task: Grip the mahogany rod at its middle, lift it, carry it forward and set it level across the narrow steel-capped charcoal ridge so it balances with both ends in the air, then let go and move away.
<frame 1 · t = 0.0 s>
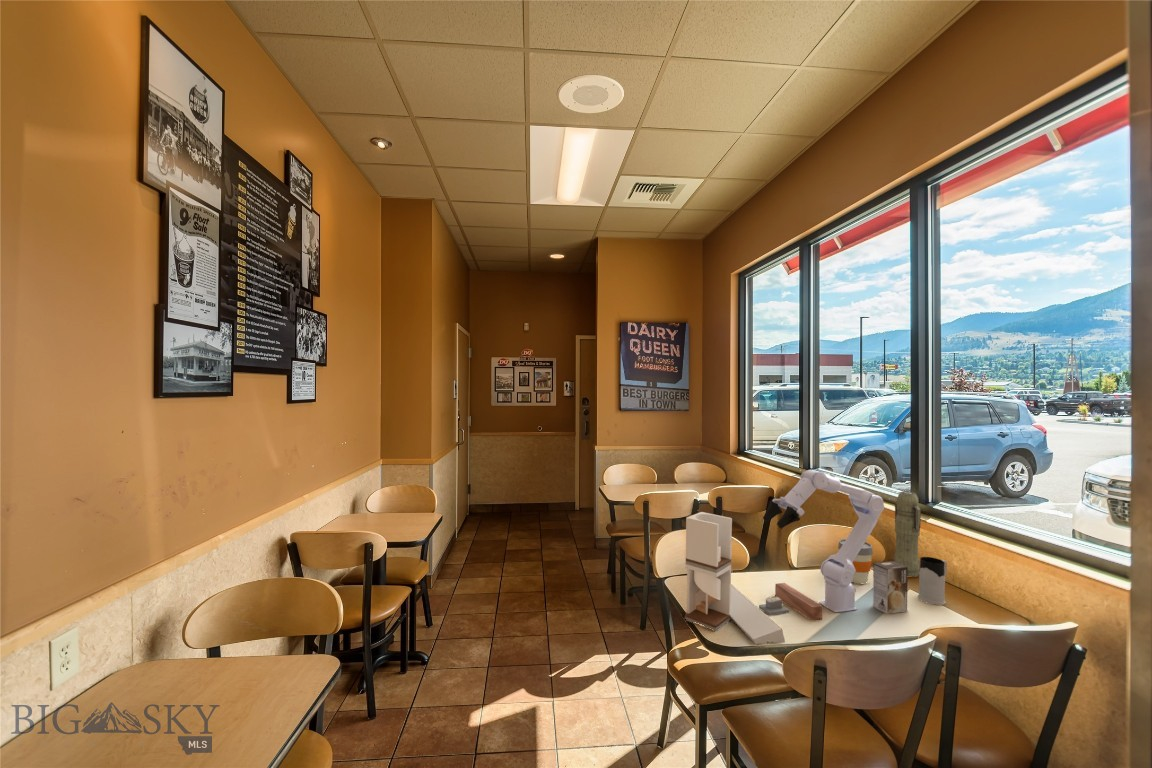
hand: (771, 523, 172), 32 cm above the table, tool tilted 50°, fingers open, 7 cm apart
reusable coffee cup: (854, 580, 205), on the table
mahogany rod: (797, 608, 179), on the table
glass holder: (935, 598, 188), on the table
white tower model: (707, 620, 168), on the table
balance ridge: (773, 610, 176), on the table
thermos: (906, 574, 212), on the table
decorative molding: (742, 619, 171), on the table
coffee box: (889, 609, 178), on the table
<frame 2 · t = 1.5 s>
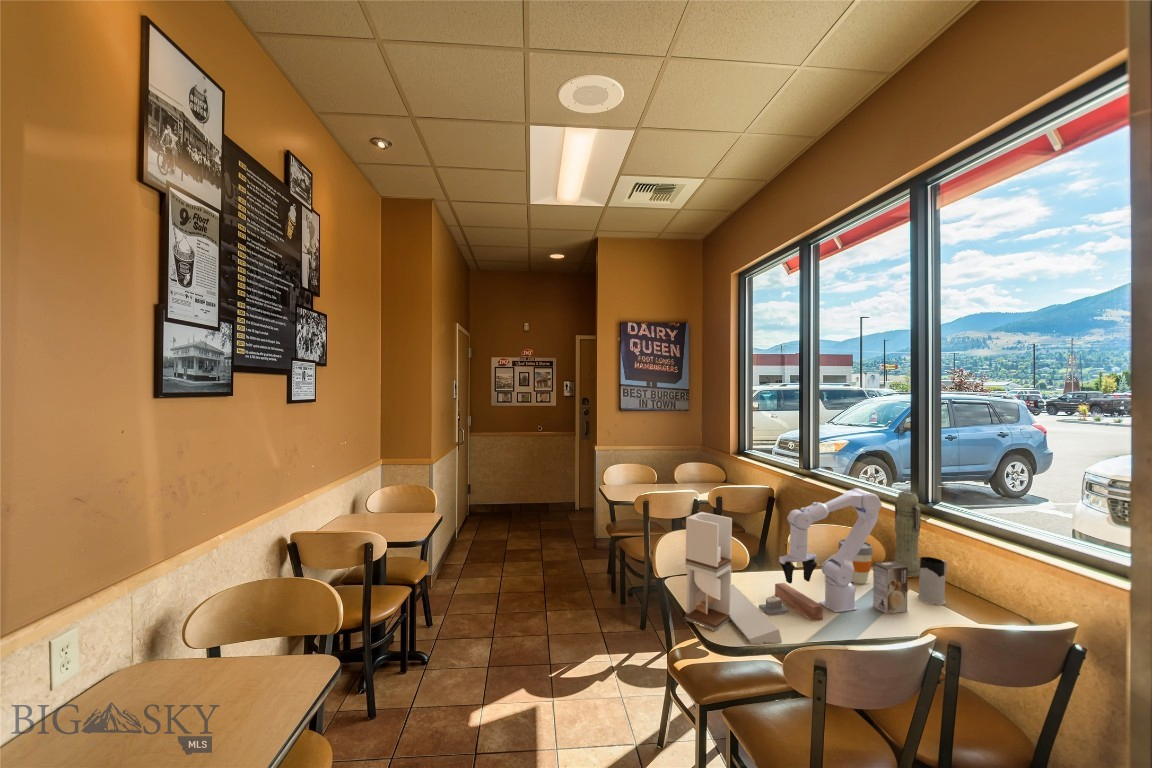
hand: (797, 581, 179), 9 cm above the table, tool pointing down, fingers open, 7 cm apart
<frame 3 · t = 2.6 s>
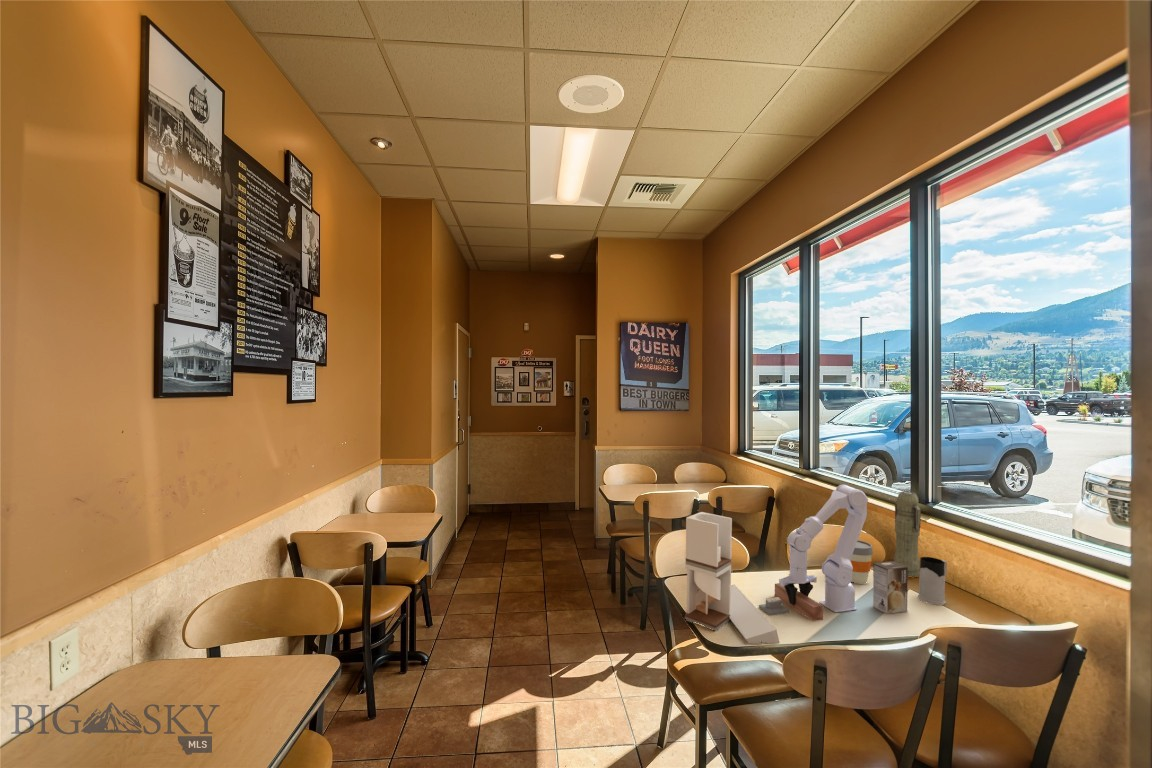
hand: (797, 603, 179), 1 cm above the table, tool pointing down, fingers closed on mahogany rod, 4 cm apart
mahogany rod: (797, 607, 179), on the table, touching gripper
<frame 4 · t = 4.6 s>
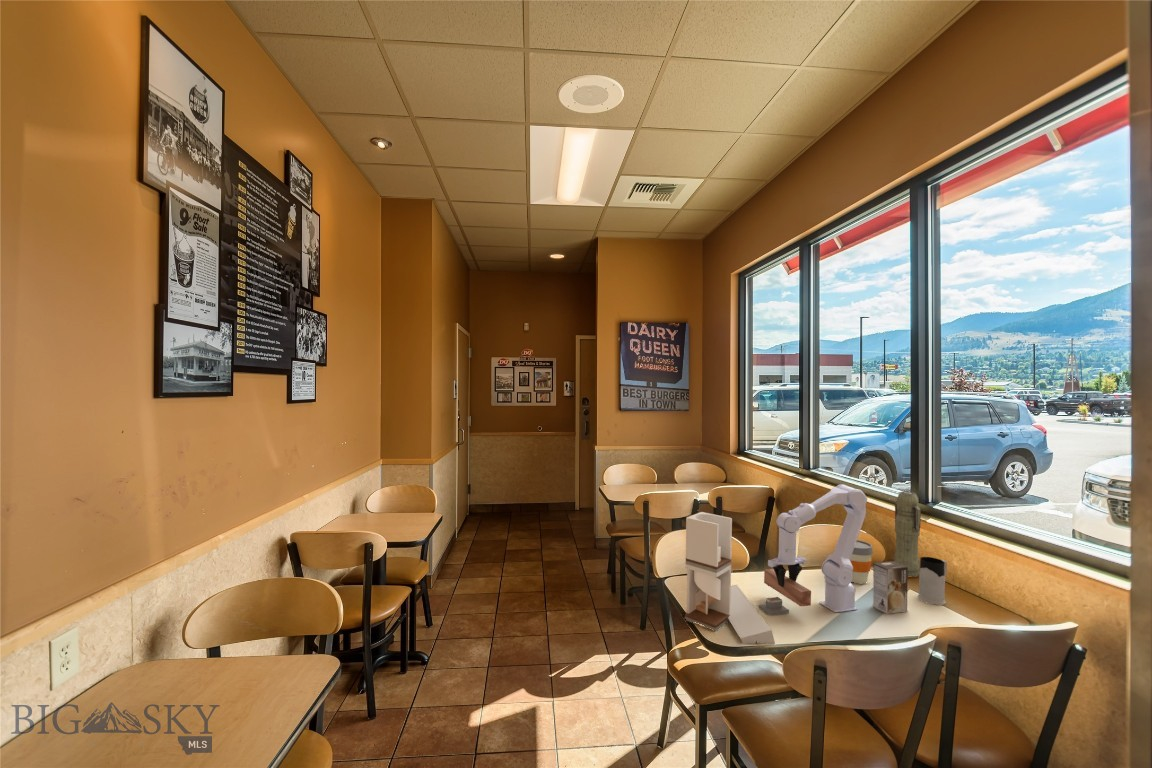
hand: (786, 585, 178), 9 cm above the table, tool pointing down, fingers closed on mahogany rod, 4 cm apart
mahogany rod: (786, 593, 178), point 5 cm above the table, touching gripper
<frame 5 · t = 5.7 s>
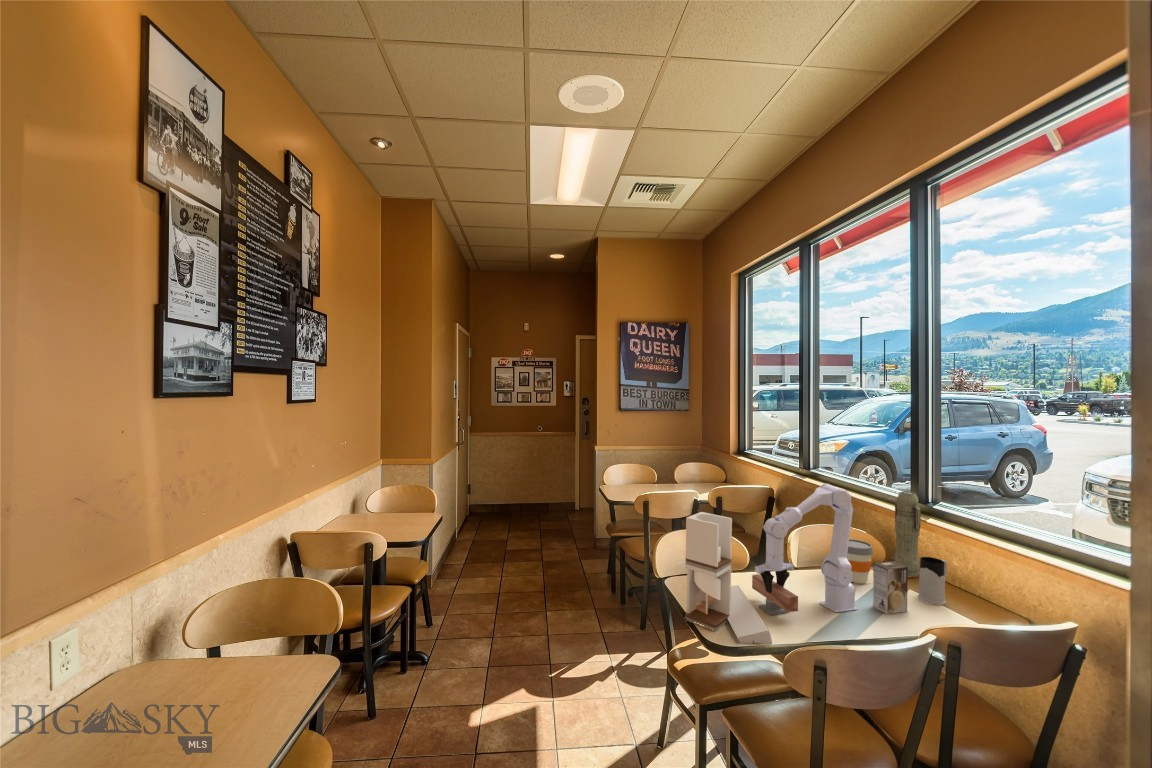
hand: (774, 591, 176), 7 cm above the table, tool pointing down, fingers closed on mahogany rod, 4 cm apart
mahogany rod: (773, 599, 176), point 4 cm above the table, touching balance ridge, gripper
when the fingers open (6 cm above the table, at t = 6.2 s): mahogany rod stays where it is, resting on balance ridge.
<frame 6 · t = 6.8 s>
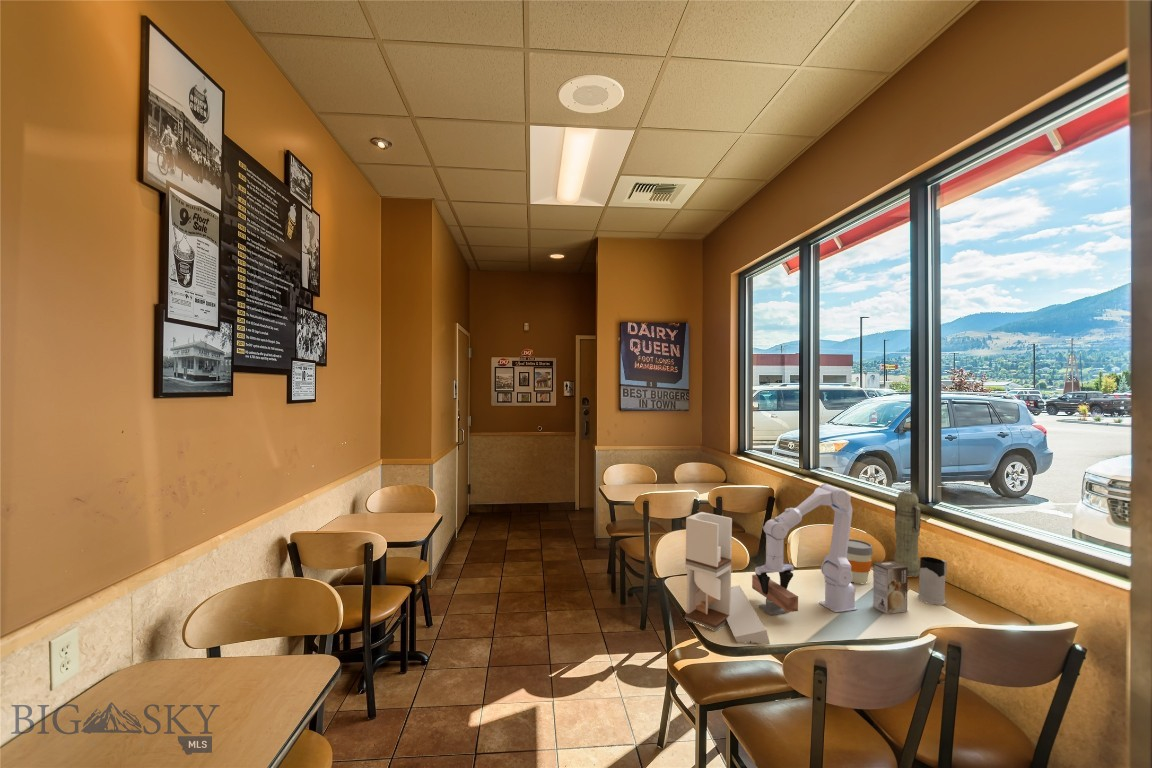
hand: (774, 592, 176), 6 cm above the table, tool pointing down, fingers open, 7 cm apart
mahogany rod: (773, 599, 176), point 4 cm above the table, touching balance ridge
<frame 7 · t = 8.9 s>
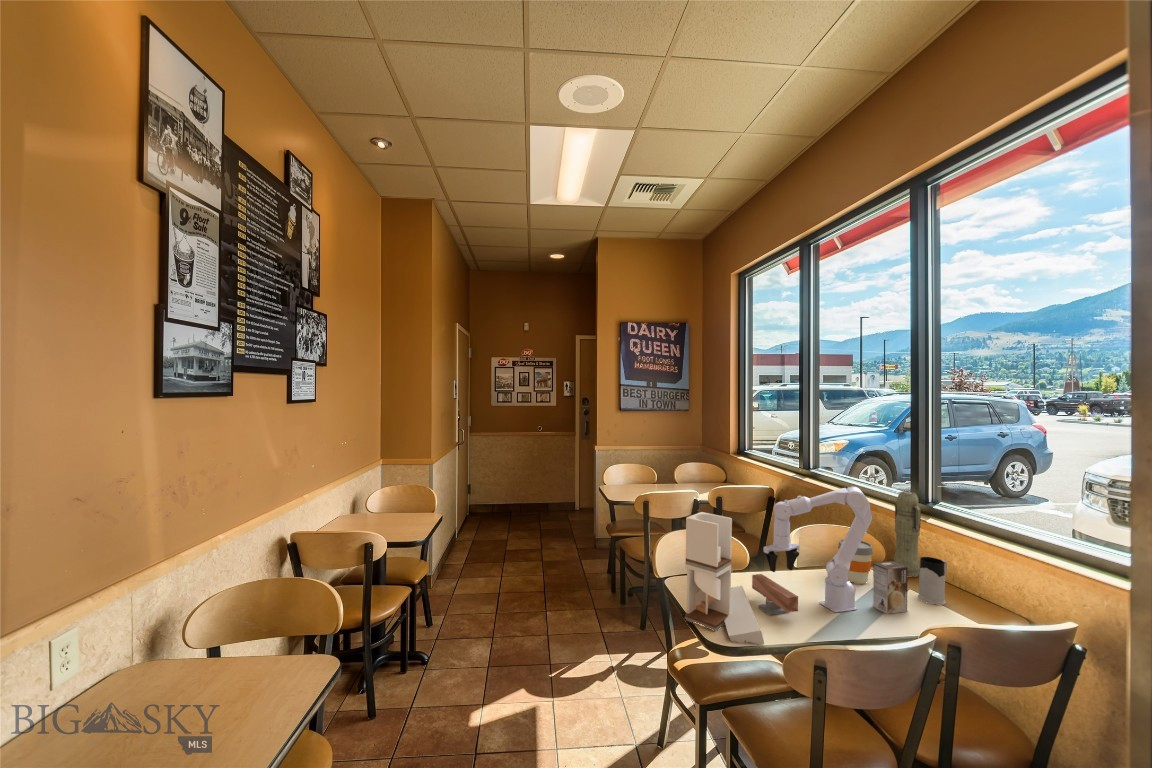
hand: (781, 570, 187), 10 cm above the table, tool pointing down, fingers open, 7 cm apart
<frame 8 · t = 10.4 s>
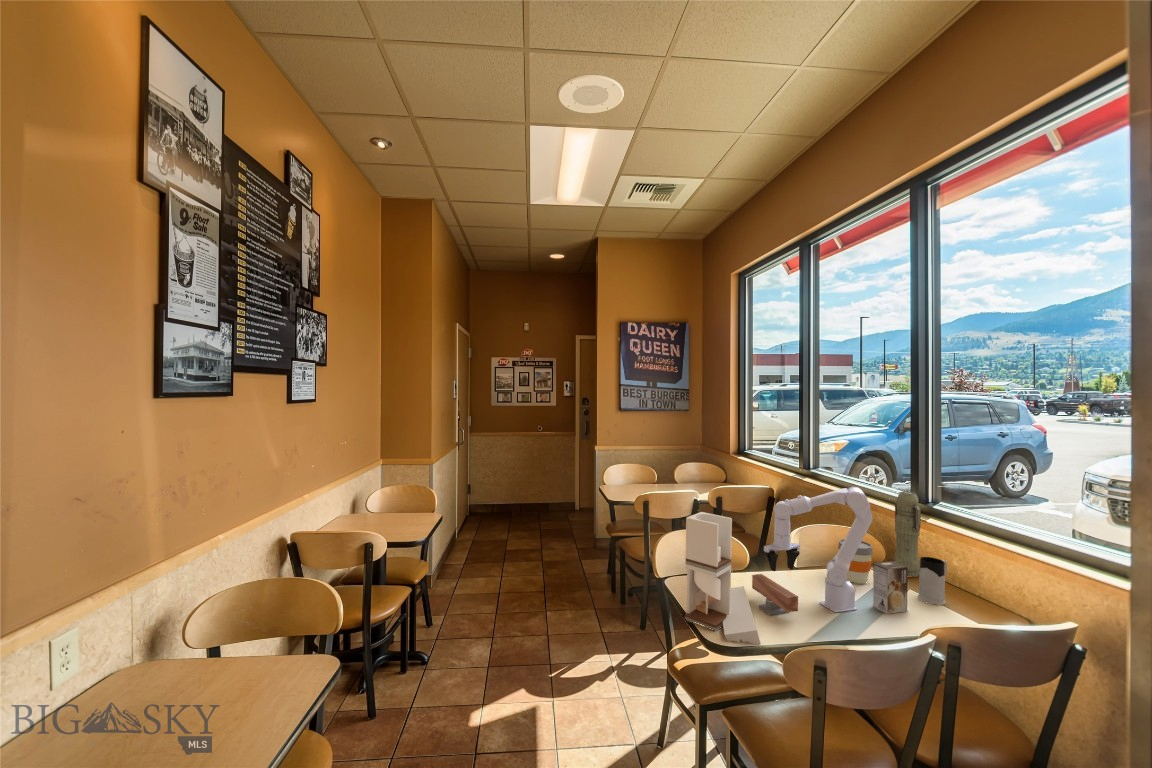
hand: (781, 569, 188), 10 cm above the table, tool pointing down, fingers open, 7 cm apart
at the end: mahogany rod 0.1 cm off-centre on the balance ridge, point 4.0 cm above the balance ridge's base; mahogany rod tilted 0°; mahogany rod touching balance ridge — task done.
